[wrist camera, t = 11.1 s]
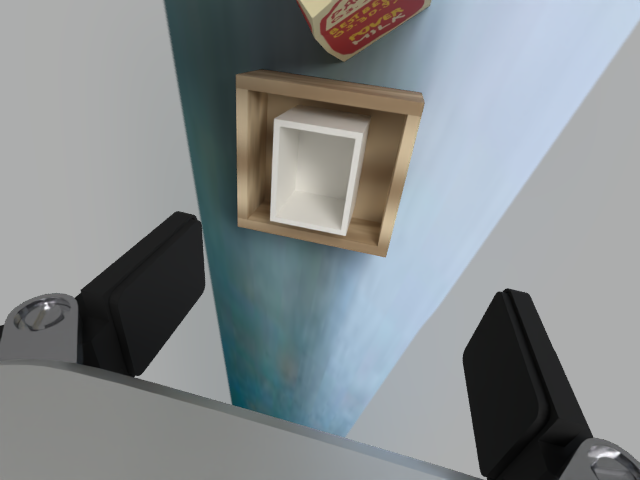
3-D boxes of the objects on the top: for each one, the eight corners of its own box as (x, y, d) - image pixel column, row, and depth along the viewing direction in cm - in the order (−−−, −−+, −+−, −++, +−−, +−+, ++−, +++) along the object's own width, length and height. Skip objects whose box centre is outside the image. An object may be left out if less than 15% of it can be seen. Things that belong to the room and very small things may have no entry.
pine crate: (262, 69, 33) (235, 74, 28) (421, 92, 31) (424, 103, 26) (259, 202, 40) (237, 226, 35) (388, 228, 38) (385, 257, 33)
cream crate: (297, 104, 33) (274, 118, 27) (371, 115, 32) (363, 133, 26) (291, 192, 38) (270, 220, 32) (355, 204, 37) (345, 236, 31)
